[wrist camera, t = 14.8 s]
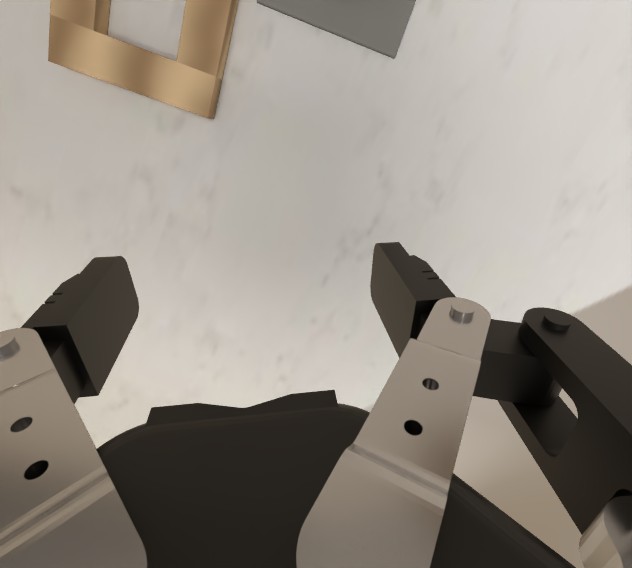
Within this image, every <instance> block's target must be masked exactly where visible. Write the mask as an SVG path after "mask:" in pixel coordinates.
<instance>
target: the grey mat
mask: <svg viewBox="0 0 632 568" xmlns="http://www.w3.org/2000/svg"><path fill="white" fill-rule="evenodd" d="M415 2H416V0H257V3H259V4H262V5H264V6H267V7H269V8H271V9H274V10H276V11H279V12H281V13H284V14H286V15H289V16H291V17H293V18H296V19H298V20H301V21H303V22H306V23H308V24H311V25H313V26H316V27H318V28H320V29H323V30H325V31H328V32H330V33H333V34H335V35H338V36H340V37H342V38H345V39H347V40H350V41H352V42H355V43H357V44H360V45H362V46H365V47H367V48H369V49H372V50H374V51H377V52H379V53H382V54H384V55H387V56H389V57H391V58H395V56H396V54H397V51H398V48H399V45H400V43H401V40H402V37H403V34H404V32H405V29H406V26H407V23H408V21H409V18H410V15H411V12H412V10H413V7H414V4H415Z"/></svg>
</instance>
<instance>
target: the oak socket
mask: <svg viewBox="0 0 632 568" xmlns="http://www.w3.org/2000/svg"><path fill="white" fill-rule="evenodd" d="M237 5H238V0H186V5H185V11H184V17H183V24H182V30H181V36H180V43H179V49H178V55H177V61H173V60H170V59H168V58H165V57H162V56H160V55H157V54H154V53H152V52H149V51H146V50H144V49H141V48H138V47H136V46H133V45H130V44H128V43H125V42H122V41H120V40H117V39H114V38H112V37H109V36H107V33H108V22H109V11H110V0H51V4H50V30H49V57H48V61H50V62H53V63H55V64H58V65H61V66H64V67H67V68H69V69H72V70H75V71H78V72H81V73H83V74H86V75H89V76H92V77H94V78H97V79H100V80H103V81H106V82H108V83H111V84H114V85H117V86H120V87H122V88H125V89H128V90H131V91H133V92H136V93H139V94H142V95H145V96H147V97H150V98H153V99H156V100H159V101H161V102H164V103H167V104H170V105H172V106H175V107H178V108H181V109H184V110H186V111H189V112H192V113H195V114H198V115H200V116H203V117H206V118H211V119H214V116H215V112H216V107H217V102H218V97H219V92H220V87H221V82H222V78H223V73H224V68H225V63H226V58H227V53H228V48H229V44H230V39H231V34H232V29H233V24H234V19H235V14H236V10H237Z"/></svg>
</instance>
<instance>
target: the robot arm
mask: <svg viewBox="0 0 632 568" xmlns="http://www.w3.org/2000/svg"><path fill="white" fill-rule="evenodd" d="M371 297H372V301H373V303H374V305H375V307H376V309H377V312H378V314H379V316H380V318H381V320H382V322H383V324H384V326H385V328H386V331H387V333H388V335H389V337H390V339H391V341H392V343H393V345H394V348H395V350H396V352H397V354H398V356H399V360H398V362H397V364H396V366H395V368H394V370H393V371H392V373H391V375H390V377H389V379H388V381H387V383H386V384H385V386H384V388H383V390H382V392H381V394H380V395H379V397H378V399H377V401H376V403H375V405H374V407H373V408H372V410H371V412H368V411H365V410H363V409H360V408H357V407H354V406H349V405H345V404H338V403H337V399H336V395H335V390H328V391H317V392H307V393H297V394H290V395H287V396H283V397H280V398H277V399H274V400H271V401H267V402H264V403H261V404H258V405H255V406H251V407H247V408H236V407H228V406H219V405H210V404H202V403H194V404H184V405H174V406H164V407H153V408H151V411H150V414H149V417H148V420H147V423H146V424H142V425H140V426H137V427H135V428H132V429H130V430H127V431H125V432H123V433H122V434H120V435H118V436H116V437H114V438H113V439H111V440H109V441H108V442H106V443H104V444H103V445H102V446H100V447H99V448H97V449H96V447H95V445H94V443H93V441H92V439H91V437H90V435H89V433H88V431H87V429H86V427H85V425H84V423H83V421H82V419H81V417H80V415H79V413H78V411H77V409H76V407H75V405H74V404H75V402H76V400H77V399H78V397H89V396H98V395H99V393H100V391H101V389H102V387H103V385H104V383H105V381H106V379H107V377H108V375H109V373H110V371H111V369H112V367H113V365H114V363H115V361H116V359H117V357H118V355H119V353H120V351H121V349H122V347H123V345H124V343H125V341H126V339H127V337H128V335H129V333H130V331H131V329H132V327H133V325H134V323H135V321H136V319H137V317H138V312H139V303H138V298H137V294H136V291H135V288H134V285H133V281H132V278H131V275H130V272H129V268H128V265H127V262H126V260H125V259H124V258H123V257H122V256H115V257H96V258H94V259H92V261H91V262H90V263H89V264H88V265H87V266H86V267H85V269H84V270H83V271H82V272H81V273H80V274H77V275H75V276H73V277H72V278H70V279H68V280H67V281H65V282H63V283H62V284H61V285H60V286H59V287H58V288H57V289H56V290H55V291H54V292H53V295H51V296H50V297H49V298H48V299H47V300H46V301H45V304H42V305H41V306H40V307H39V309H38V310H37V311H36V312H35V313H34V314H33V315H32V316H31V317H30V318H29V319H28V320H27V321H26V323H25V324H24V325H23V326H22V327H21V328H15V329H10V330H6V331H2V332H0V568H576V567H574V566H573V565H572V564H570V563H569V562H568V561H567V560H565V559H564V558H563V557H562V556H560V555H559V554H558V553H556V552H555V551H554V550H552V549H551V548H550V547H548V546H547V545H546V544H544V543H543V542H542V541H540V540H539V539H538V538H537V537H535V536H534V535H533V534H532V533H530V532H529V531H528V530H526V529H525V528H524V527H522V526H521V525H520V524H518V523H517V522H516V521H515V520H513V519H512V518H511V517H509V516H508V515H507V514H505V513H504V512H503V511H501V510H500V509H499V508H498V507H496V506H495V505H494V504H493V503H491V502H490V501H489V500H487V499H486V498H485V497H483V496H482V495H481V494H479V493H478V492H477V491H476V490H474V489H473V488H472V487H470V486H469V485H468V484H466V483H465V482H464V481H462V480H461V479H460V478H459V477H457V476H456V475H455V474H453V470H454V466H455V462H456V458H457V454H458V450H459V446H460V442H461V439H462V434H463V431H464V427H465V423H466V419H467V415H468V411H469V407H470V403H471V400H472V396H477V397H483V398H489V399H495V400H498V402H499V404H500V405H501V407H502V408H503V410H504V412H505V413H506V415H507V416H508V418H509V420H510V421H511V423H512V424H513V426H514V428H515V429H516V431H517V432H518V434H519V435H520V437H521V438H522V440H523V442H524V443H525V445H526V446H527V448H528V450H529V451H530V453H531V454H532V456H533V458H534V459H535V461H536V462H537V464H538V465H539V467H540V469H541V470H542V472H543V474H544V475H545V477H546V478H547V480H548V482H549V483H550V485H551V486H552V488H553V490H554V491H555V493H556V494H557V496H558V497H559V499H560V501H561V502H562V504H563V505H564V507H565V508H566V510H567V511H568V513H569V515H570V516H571V518H572V520H573V521H574V523H575V524H576V526H577V528H578V529H579V531H580V532H581V534H582V536H581V538H580V542H579V552H580V557H581V560H582V563H583V566H584V568H632V365H631V364H630V363H628V362H627V361H626V360H625V359H624V358H623V357H621V356H620V355H619V354H618V353H617V352H616V351H615V350H613V349H612V348H611V347H610V346H609V345H607V344H606V343H605V342H604V341H603V340H602V339H600V337H598V336H597V335H596V334H595V333H594V332H593V331H591V330H590V329H589V328H588V327H587V326H586V325H584V324H583V323H582V322H581V321H579V320H578V319H577V318H575V317H573V316H571V315H569V314H567V313H565V312H562V311H559V310H555V309H550V308H533V309H530V310H528V311H526V313H525V314H524V317H523V320H522V322H521V323H516V322H508V321H500V320H494V319H491V316H490V314H489V312H488V311H487V310H486V309H485V308H484V307H483V306H481V305H480V304H478V303H476V302H474V301H471V300H468V299H464V298H457V297H455V295H454V294H453V293H452V292H451V291H450V289H449V288H448V287H447V286H446V285H445V284H444V282H443V281H442V280H441V279H439V276H438V275H437V274H436V273H435V272H433V269H432V268H431V267H430V266H429V265H428V263H427V262H425V261H424V260H422V259H420V258H418V257H416V256H415V255H412V256H409V254H408V253H407V252H406V251H405V249H404V248H403V247H402V245H401V244H400V243H399V242H391V243H377V244H376V245H375V247H374V254H373V264H372V275H371ZM562 388H563V389H564V391H565V392H566V393H567V394H568V395H569V396H570V398H571V399H572V400H573V401H574V403H575V406H576V408H577V412H578V419H577V418H576V416H575V415H574V414H573V413H572V411H571V410H570V409H569V408H568V407H567V405H566V404H565V403H564V402H563V400H562V399H561V398H560V397H559V396H558V395H559V393H560V391H561V389H562Z"/></svg>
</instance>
